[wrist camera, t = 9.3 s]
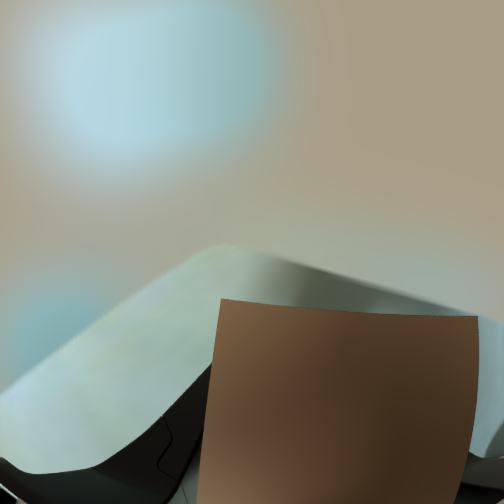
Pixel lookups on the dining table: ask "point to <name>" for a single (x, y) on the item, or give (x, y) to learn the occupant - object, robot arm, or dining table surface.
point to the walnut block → (337, 407)
